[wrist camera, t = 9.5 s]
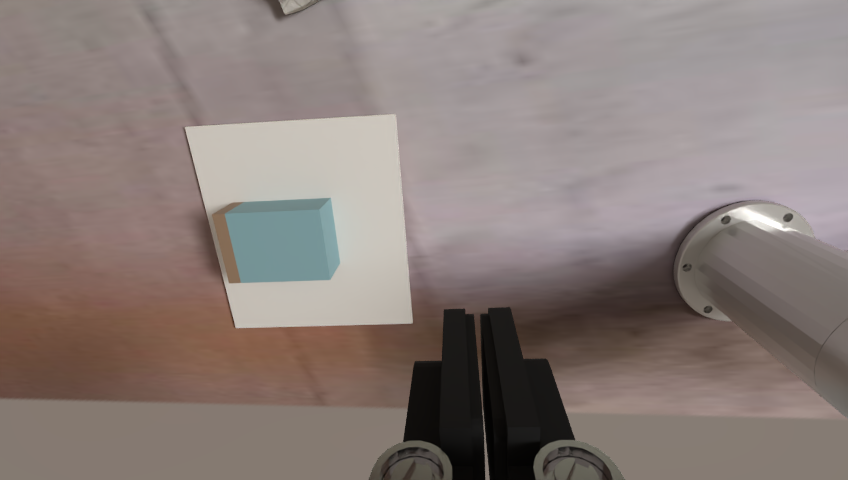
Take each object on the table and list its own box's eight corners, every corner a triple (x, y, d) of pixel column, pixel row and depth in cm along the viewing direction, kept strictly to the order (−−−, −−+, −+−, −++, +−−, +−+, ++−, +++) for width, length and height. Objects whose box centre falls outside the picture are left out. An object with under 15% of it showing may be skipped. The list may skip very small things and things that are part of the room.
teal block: (319, 209, 38) (211, 214, 38) (330, 279, 40) (229, 283, 41) (330, 197, 41) (232, 202, 42) (340, 262, 44) (247, 266, 45)
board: (395, 113, 39) (395, 114, 38) (412, 321, 46) (412, 323, 46) (187, 126, 40) (184, 127, 40) (237, 326, 48) (235, 328, 47)
